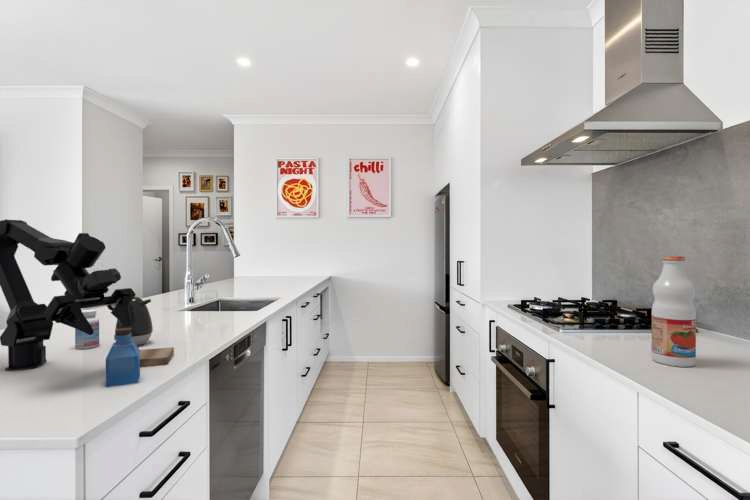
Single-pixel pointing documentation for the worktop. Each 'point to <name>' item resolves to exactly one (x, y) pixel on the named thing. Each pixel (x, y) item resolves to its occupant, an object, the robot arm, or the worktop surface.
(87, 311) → the pill bottle
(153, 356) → the walnut block
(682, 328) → the fruit juice
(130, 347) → the perfume bottle
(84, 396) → the worktop surface
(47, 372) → the worktop surface
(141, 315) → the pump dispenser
